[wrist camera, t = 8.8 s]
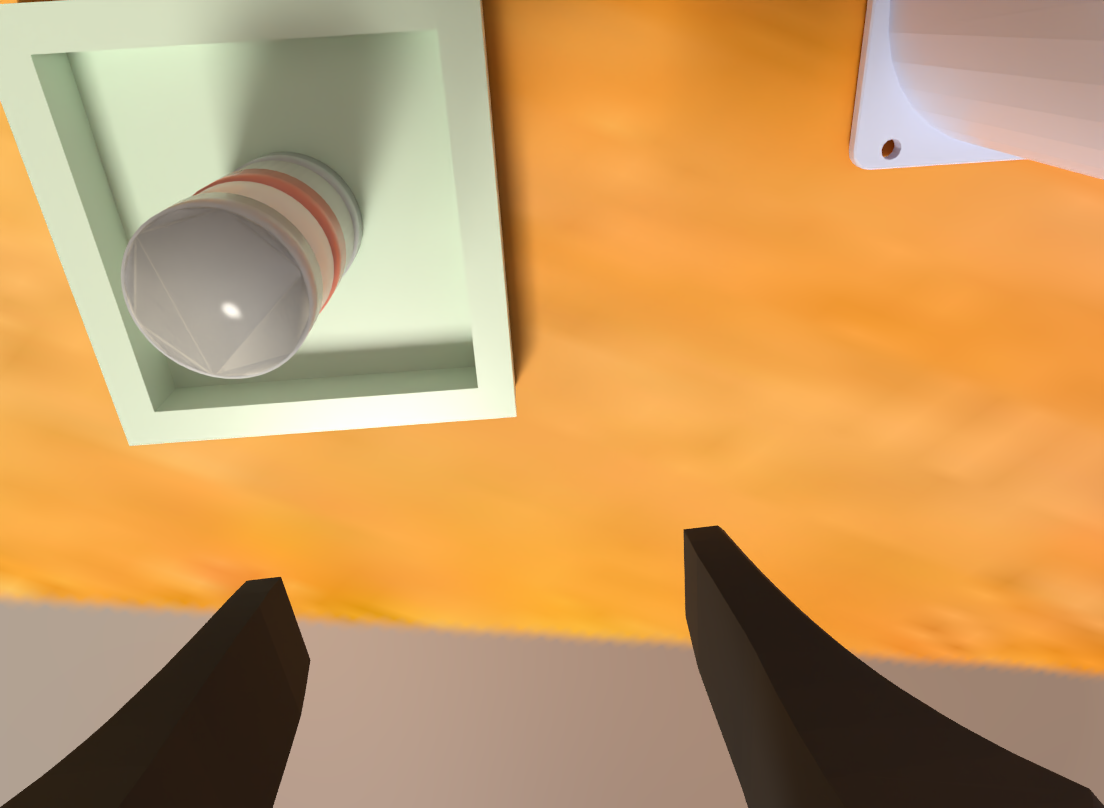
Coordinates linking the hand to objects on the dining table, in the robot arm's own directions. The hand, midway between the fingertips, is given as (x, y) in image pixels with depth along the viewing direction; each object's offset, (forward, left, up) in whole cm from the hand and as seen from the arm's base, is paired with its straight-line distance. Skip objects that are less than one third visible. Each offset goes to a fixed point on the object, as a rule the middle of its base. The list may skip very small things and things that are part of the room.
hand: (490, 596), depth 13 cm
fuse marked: (+5, -5, -10) cm, 12 cm away
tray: (+5, -5, -10) cm, 12 cm away
